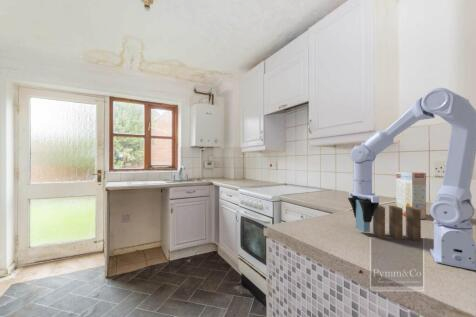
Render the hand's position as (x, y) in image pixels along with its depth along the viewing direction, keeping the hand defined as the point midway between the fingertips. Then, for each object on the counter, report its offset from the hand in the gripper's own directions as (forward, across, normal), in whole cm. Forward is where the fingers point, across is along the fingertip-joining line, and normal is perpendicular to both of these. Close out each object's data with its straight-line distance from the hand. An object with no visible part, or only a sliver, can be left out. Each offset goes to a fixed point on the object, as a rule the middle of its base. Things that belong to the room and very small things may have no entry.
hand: (362, 219), depth 76 cm
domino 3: (+5, -3, -10) cm, 11 cm away
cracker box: (+5, +28, -40) cm, 48 cm away
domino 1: (+3, 0, 0) cm, 3 cm away
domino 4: (+5, -4, -14) cm, 16 cm away
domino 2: (+5, -1, -5) cm, 7 cm away
